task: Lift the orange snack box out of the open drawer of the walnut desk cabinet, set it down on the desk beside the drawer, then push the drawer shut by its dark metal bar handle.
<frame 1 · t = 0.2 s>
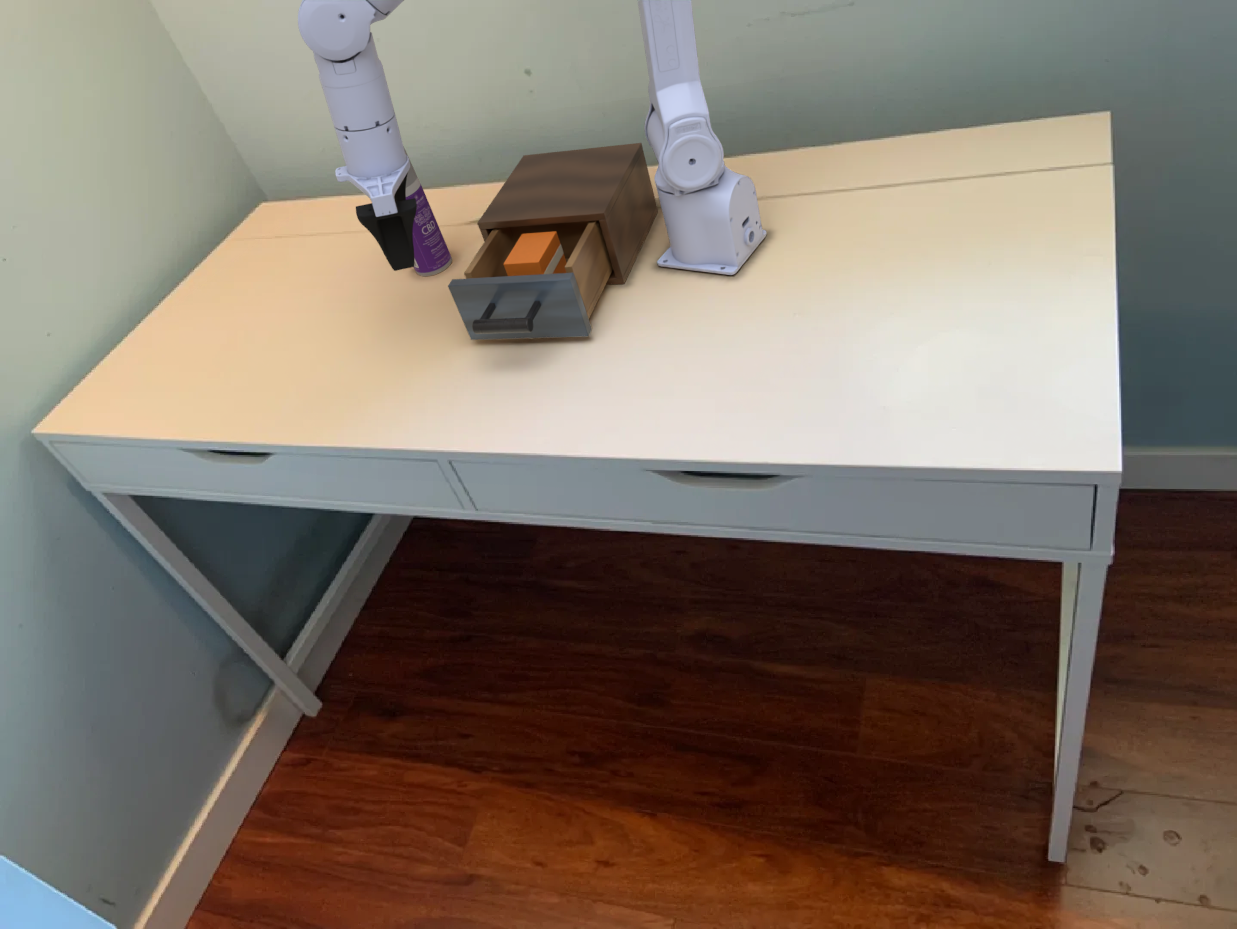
hand: (401, 249, 98), 10 cm above the table, tool pointing down, fingers open, 7 cm apart
drawer: (533, 284, 99), point 4 cm above the table, slide at 9.0 cm, touching snack box
cabinet: (582, 249, 110), on the table
snack box: (545, 291, 101), point 2 cm above the table, touching drawer
container: (434, 266, 116), on the table
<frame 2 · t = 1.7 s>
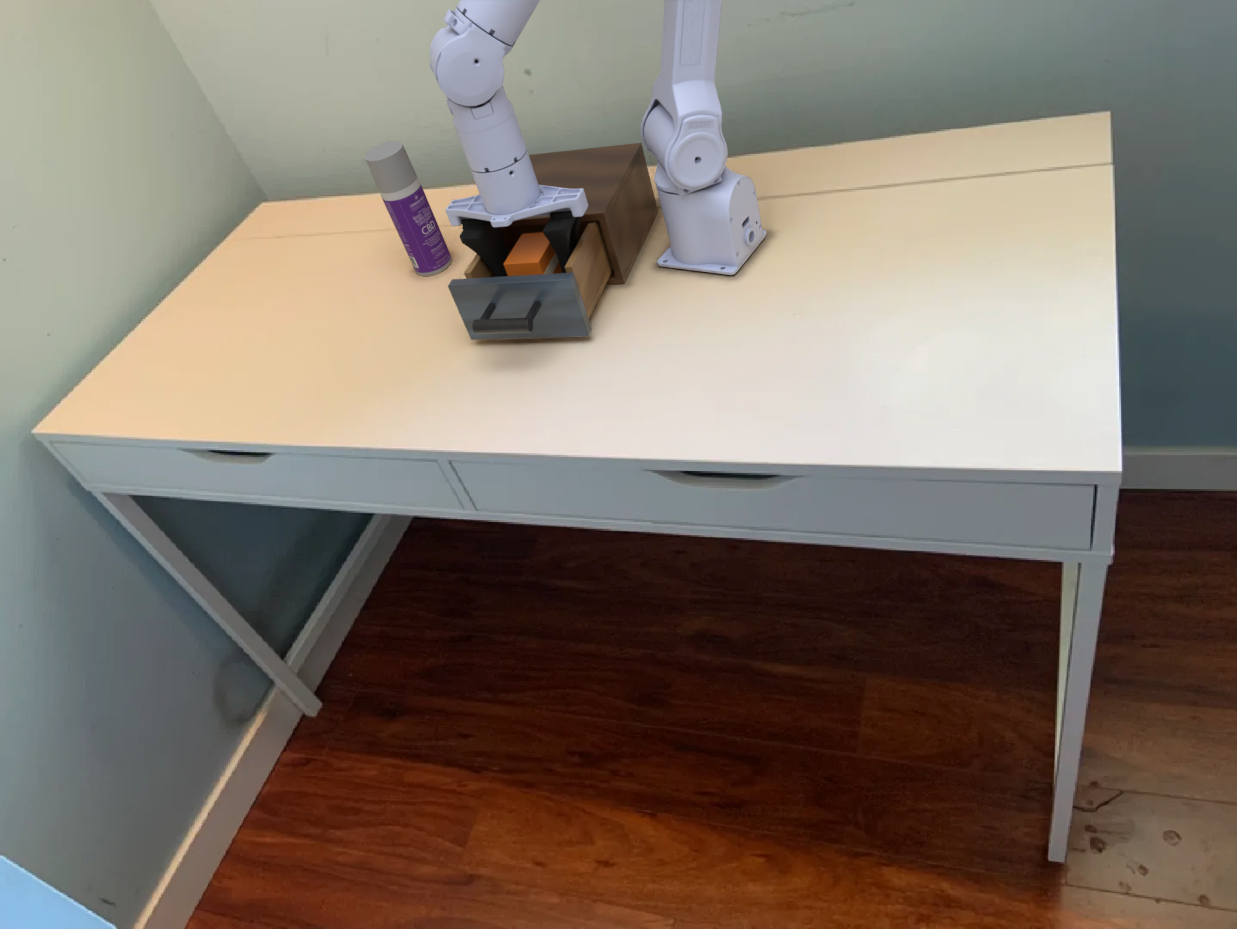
hand: (540, 277, 100), 4 cm above the table, tool pointing down, fingers open, 7 cm apart
drawer: (533, 284, 99), point 4 cm above the table, slide at 9.0 cm, touching gripper, snack box
everything else where it was.
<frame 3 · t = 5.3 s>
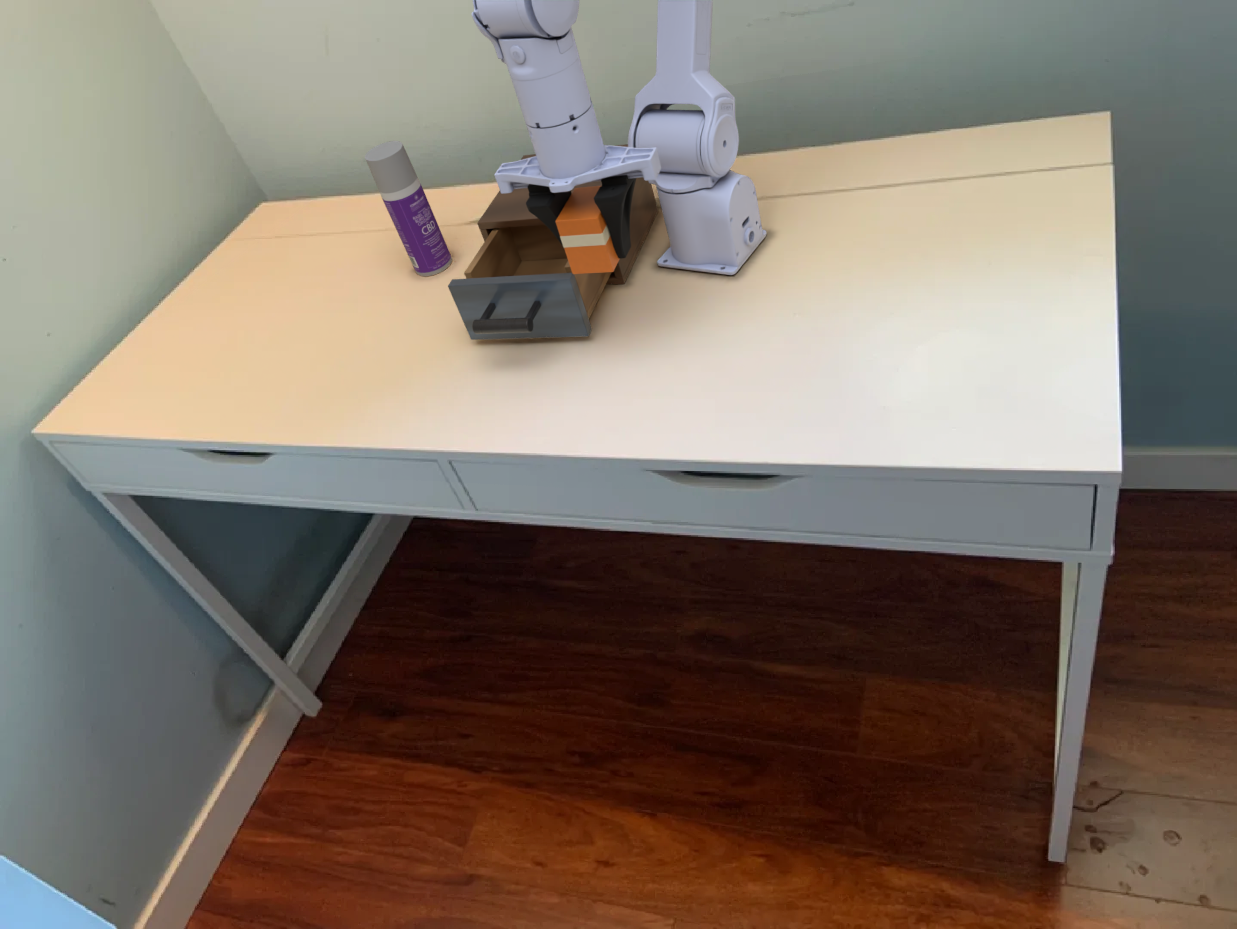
hand: (601, 253, 88), 10 cm above the table, tool pointing down, fingers closed on snack box, 4 cm apart
drawer: (533, 284, 99), point 4 cm above the table, slide at 9.0 cm
snack box: (601, 255, 88), point 10 cm above the table, touching gripper
everything else where it was.
when the fingers open (0 cm above the table, at t = 8.3 s): snack box stays where it is, on the table.
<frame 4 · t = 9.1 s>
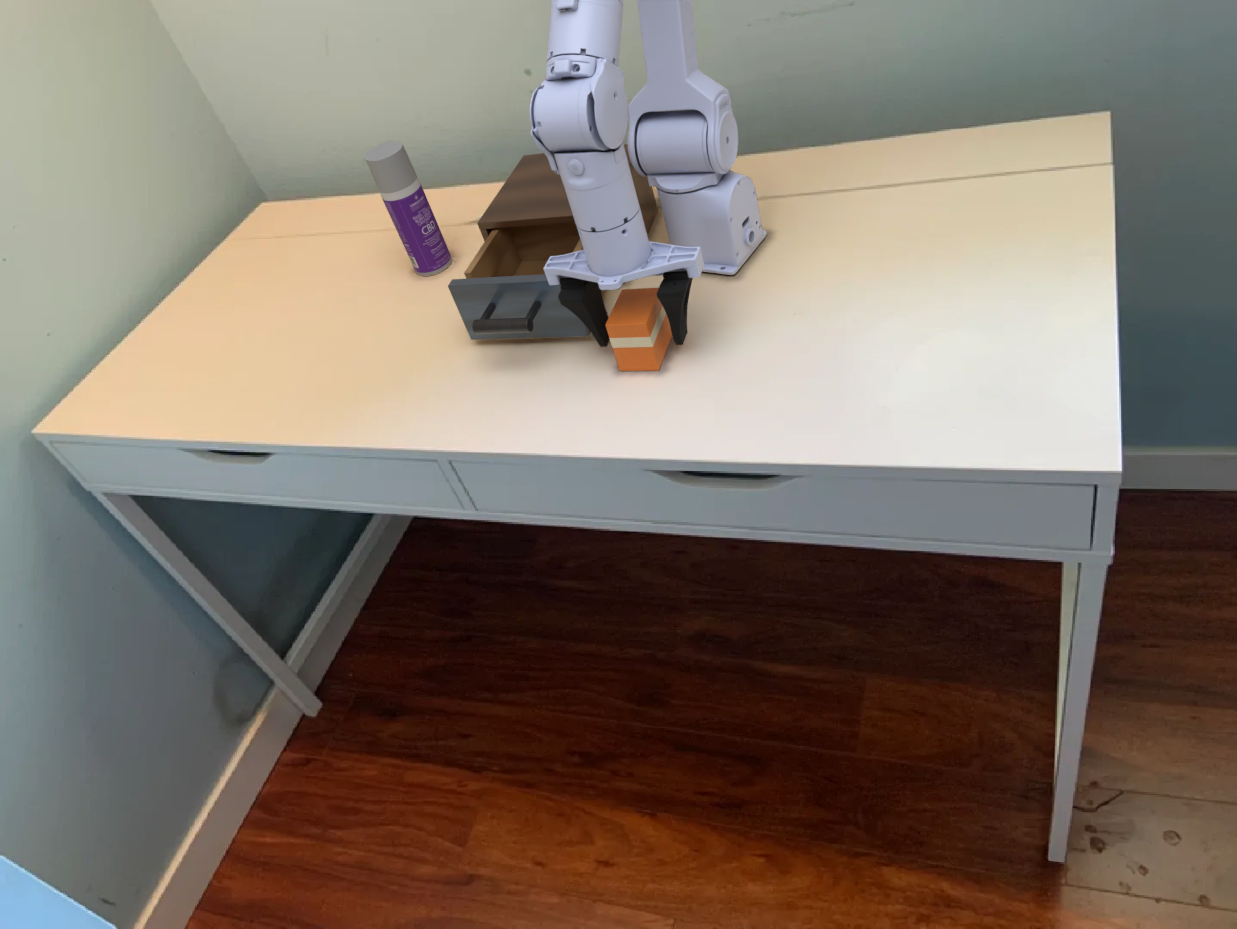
hand: (643, 339, 92), 1 cm above the table, tool pointing down, fingers open, 7 cm apart
snack box: (646, 352, 93), on the table
everything else where it was.
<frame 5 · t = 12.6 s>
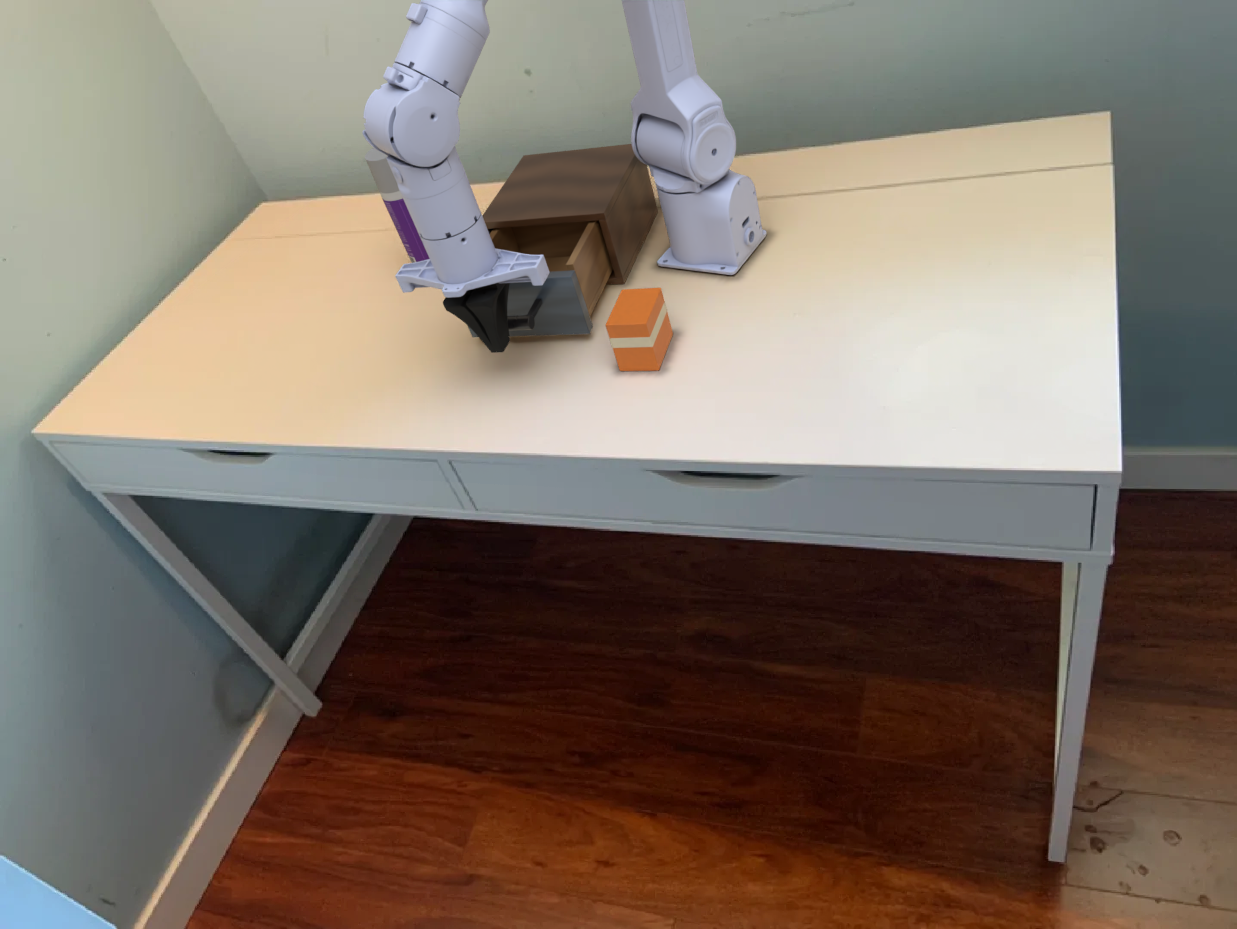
hand: (500, 346, 92), 4 cm above the table, tool pointing down, fingers closed, pressing on drawer
drawer: (534, 281, 99), point 4 cm above the table, slide at 8.6 cm, touching gripper
everything else where it was.
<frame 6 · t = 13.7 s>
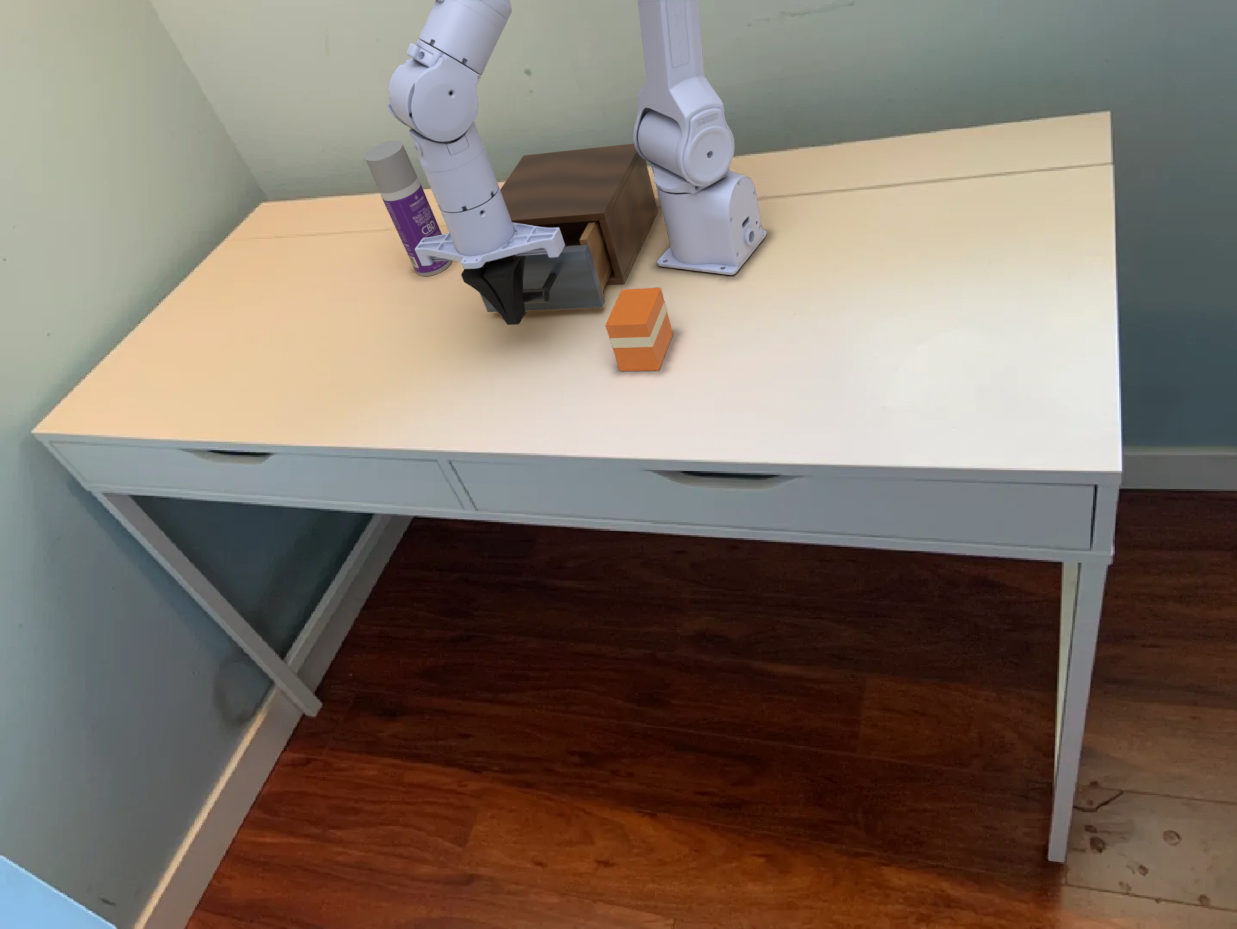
hand: (516, 318, 95), 4 cm above the table, tool pointing down, fingers closed, pressing on drawer
drawer: (548, 257, 102), point 4 cm above the table, slide at 4.2 cm, touching gripper
everything else where it was.
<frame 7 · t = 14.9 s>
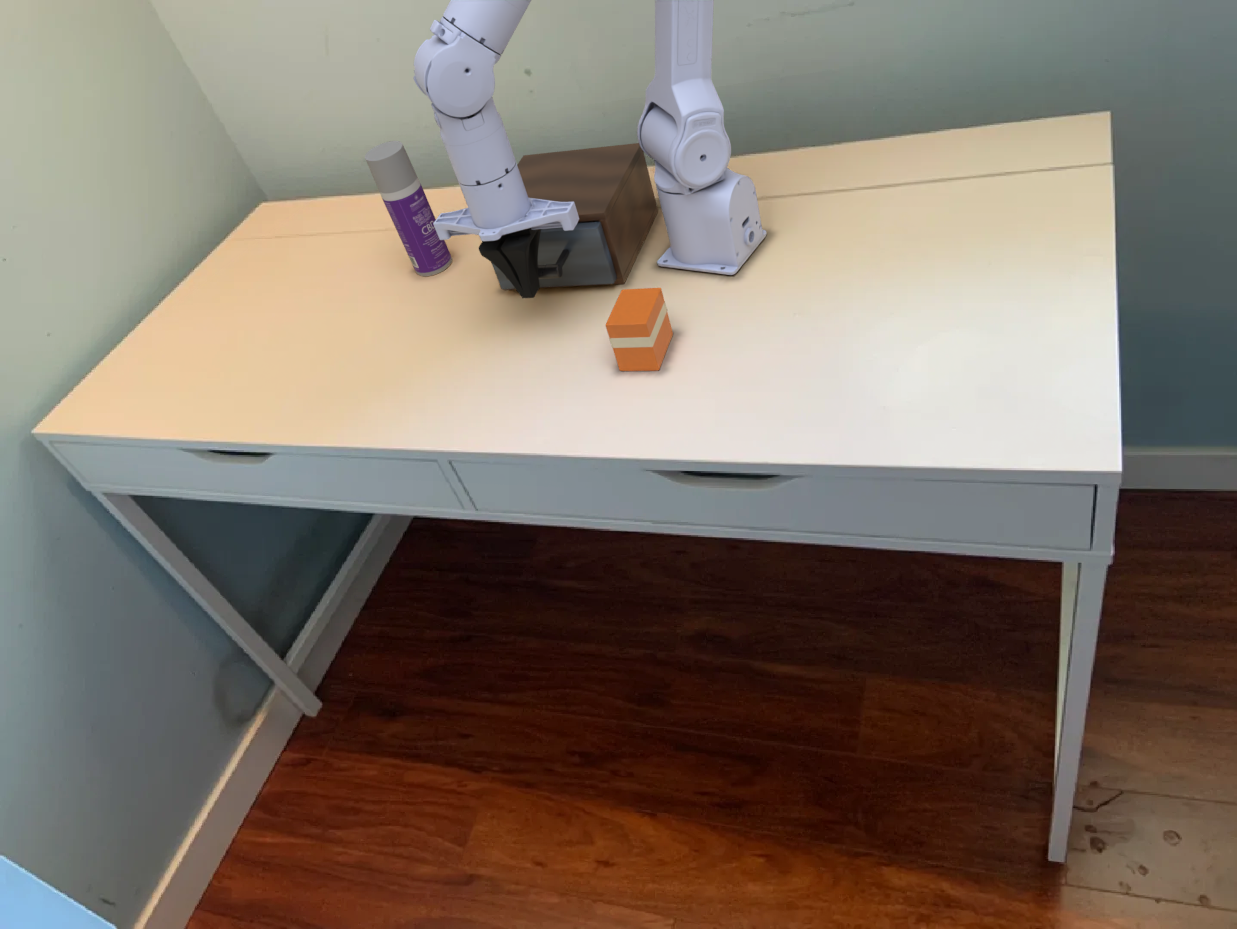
hand: (530, 292, 98), 4 cm above the table, tool pointing down, fingers closed, pressing on drawer
drawer: (560, 235, 104), point 4 cm above the table, slide at 0.0 cm, touching cabinet, gripper
everything else where it was.
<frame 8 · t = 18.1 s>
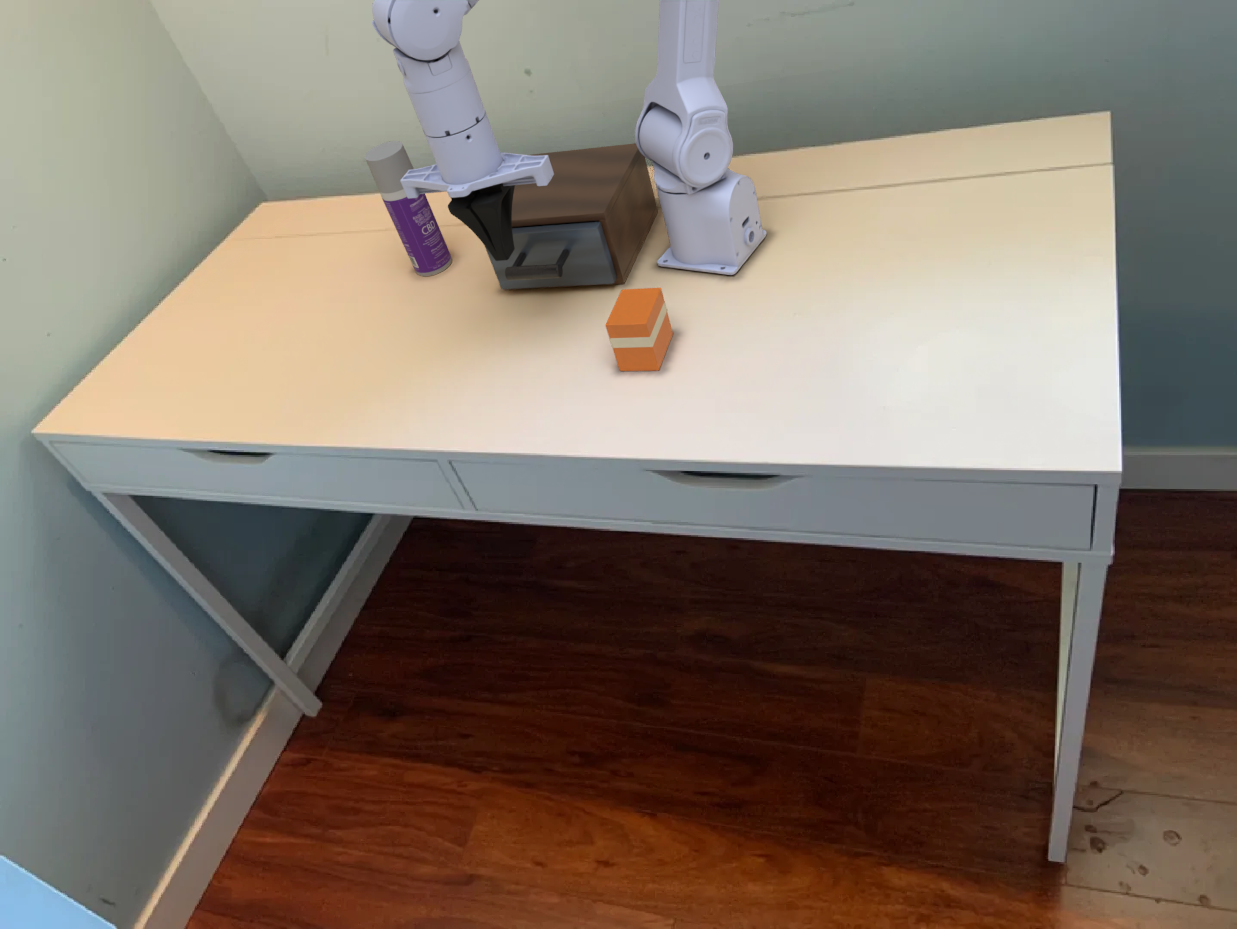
hand: (505, 254, 93), 10 cm above the table, tool pointing down, fingers closed
drawer: (560, 235, 104), point 4 cm above the table, slide at 0.0 cm, touching cabinet
everything else where it was.
at the end: snack box inside the target area (0.1 cm from its centre), on the table; snack box tilted 0°; drawer slide at 0.0 cm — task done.
